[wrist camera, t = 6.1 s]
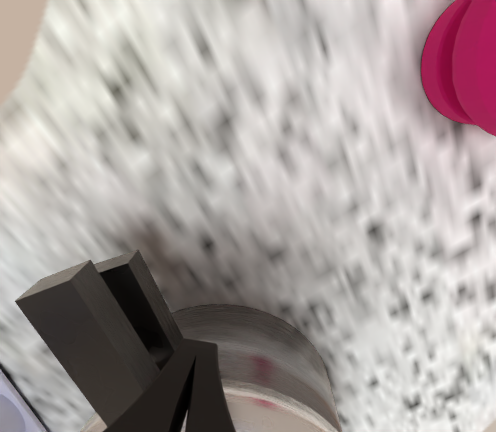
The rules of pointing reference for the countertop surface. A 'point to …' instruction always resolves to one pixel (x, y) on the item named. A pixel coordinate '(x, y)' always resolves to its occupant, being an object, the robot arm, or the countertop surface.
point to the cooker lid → (133, 357)
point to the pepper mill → (463, 63)
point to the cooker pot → (223, 337)
